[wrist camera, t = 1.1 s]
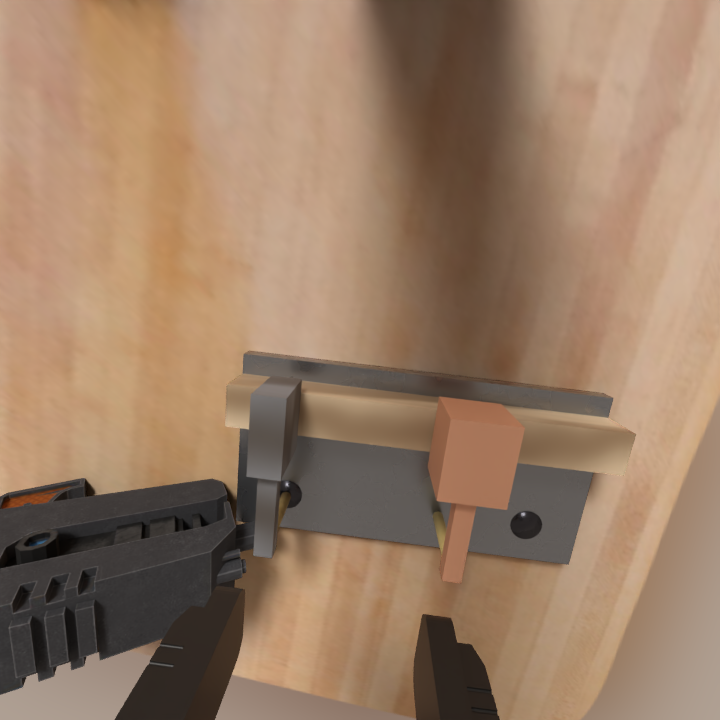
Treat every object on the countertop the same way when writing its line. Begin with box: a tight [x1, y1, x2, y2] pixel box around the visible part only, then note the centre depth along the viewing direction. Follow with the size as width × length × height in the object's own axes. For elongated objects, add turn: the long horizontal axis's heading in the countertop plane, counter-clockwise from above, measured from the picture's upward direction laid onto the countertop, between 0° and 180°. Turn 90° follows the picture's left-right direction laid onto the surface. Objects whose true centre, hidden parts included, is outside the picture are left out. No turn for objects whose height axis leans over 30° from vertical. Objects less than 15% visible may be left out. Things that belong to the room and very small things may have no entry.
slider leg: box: [428, 396, 525, 583], centre depth 25 cm, size 11×4×7 cm, turn 174°
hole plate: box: [236, 351, 613, 564], centre depth 29 cm, size 14×27×1 cm, turn 84°
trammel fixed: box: [225, 374, 636, 558], centre depth 25 cm, size 11×27×7 cm, turn 84°
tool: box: [0, 478, 255, 695], centre depth 27 cm, size 6×19×15 cm, turn 85°
